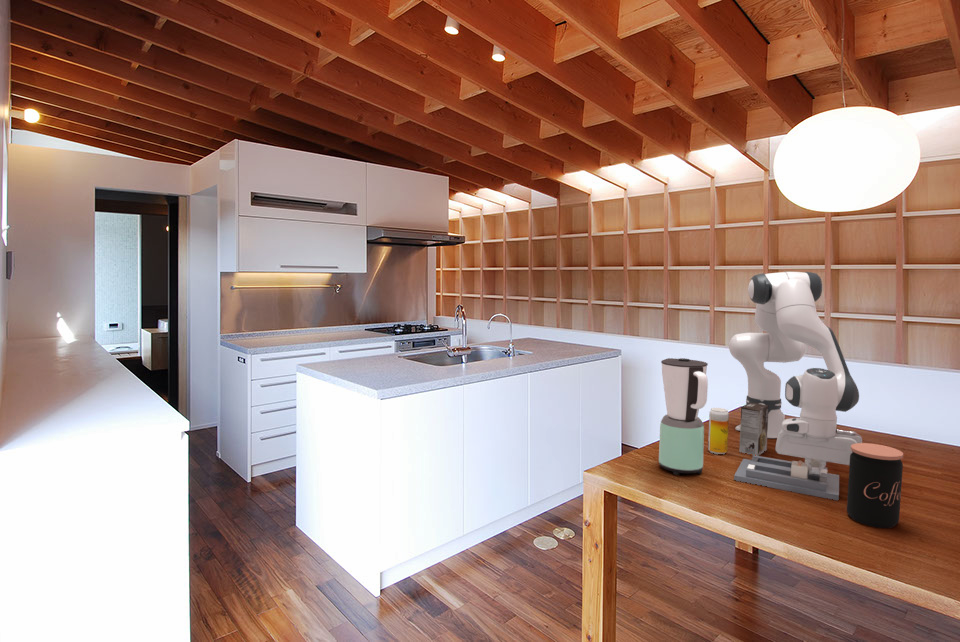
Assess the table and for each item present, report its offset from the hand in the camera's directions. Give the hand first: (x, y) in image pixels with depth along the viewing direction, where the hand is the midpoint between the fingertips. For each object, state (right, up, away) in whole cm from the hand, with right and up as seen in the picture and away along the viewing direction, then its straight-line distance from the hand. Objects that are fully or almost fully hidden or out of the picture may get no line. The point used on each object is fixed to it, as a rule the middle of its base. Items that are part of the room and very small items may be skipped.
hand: (814, 474), depth 154 cm
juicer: (-32, -3, +16) cm, 36 cm away
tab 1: (-3, -3, +2) cm, 5 cm away
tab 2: (+4, -2, +7) cm, 8 cm away
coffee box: (0, -2, +34) cm, 34 cm away
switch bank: (-4, -4, +8) cm, 9 cm away
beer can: (-13, -2, +33) cm, 36 cm away
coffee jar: (+3, -6, -18) cm, 20 cm away
